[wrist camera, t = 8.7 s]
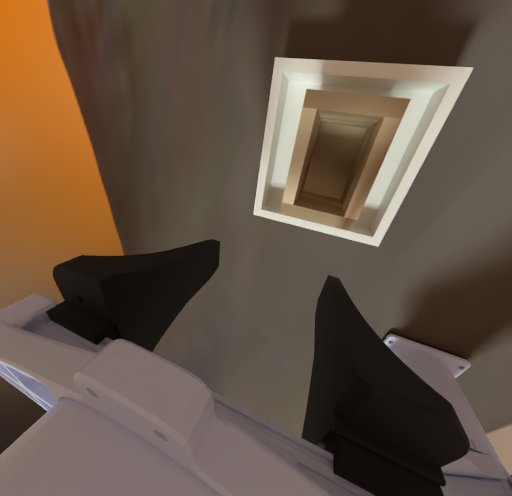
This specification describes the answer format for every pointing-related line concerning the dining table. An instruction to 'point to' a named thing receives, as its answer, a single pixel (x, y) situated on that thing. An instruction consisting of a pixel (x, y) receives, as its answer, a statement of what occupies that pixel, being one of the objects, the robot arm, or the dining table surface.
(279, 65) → the white square tray
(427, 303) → the dining table surface
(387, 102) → the pine crate
